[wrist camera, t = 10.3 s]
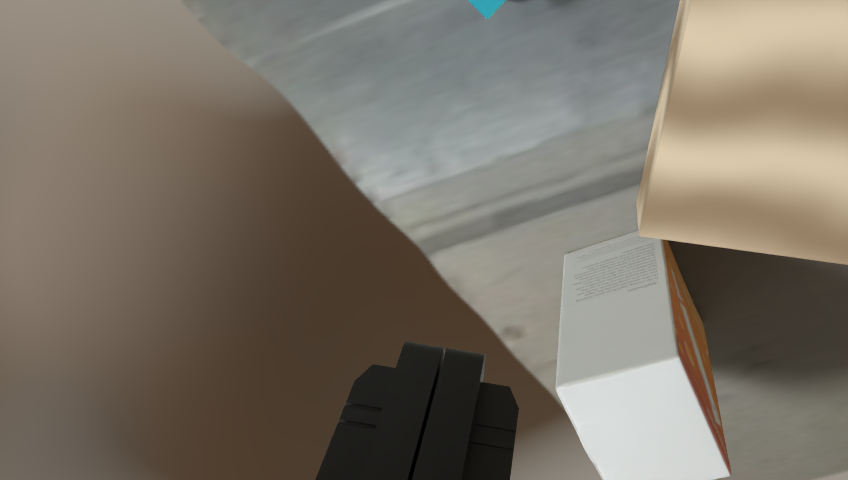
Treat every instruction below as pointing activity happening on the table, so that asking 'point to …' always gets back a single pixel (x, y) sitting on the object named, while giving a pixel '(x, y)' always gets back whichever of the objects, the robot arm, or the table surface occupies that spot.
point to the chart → (487, 6)
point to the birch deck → (752, 130)
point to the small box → (637, 365)
